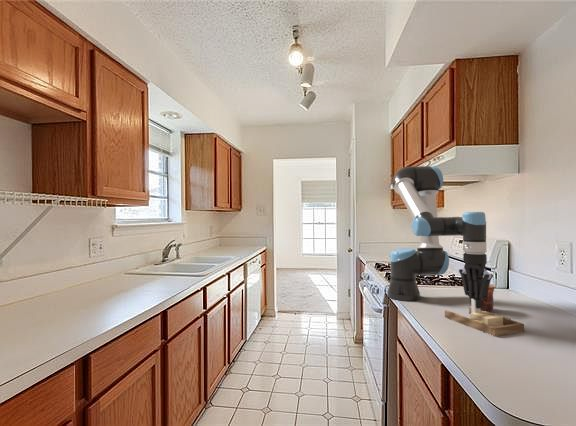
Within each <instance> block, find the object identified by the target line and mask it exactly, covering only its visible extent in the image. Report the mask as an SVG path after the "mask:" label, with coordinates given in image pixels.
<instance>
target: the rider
mask: <svg viewBox="0 0 576 426" xmlns="http://www.w3.org/2000/svg"><path fill="white" fill-rule="evenodd" d="M470 319H473V320H478V321H481V322H484V323H485V324H487V325H490V326H492V327H497V326H504V325H503V317H502V316H501V315H498V314H496V313H493V312H490V311H483V312H475V313H471V314H470Z"/></svg>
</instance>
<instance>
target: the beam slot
mask: <svg viewBox="0 0 576 426" xmlns="http://www.w3.org/2000/svg"><path fill="white" fill-rule="evenodd" d="M480 312H483V311H482V310H480ZM468 314H469V315H471V306H470V307H468ZM502 317H503V326H497V327H492V326H490V325H487V324H485V323H484V322H481V321H478V320H473V319H471V317H470V318H469V317H467V316H464V315H463V314H462V315H461V314H459V313H455V312H452V311H450V310H447V309H446V310H444V318H446V319H449V320H452V321H454V322H456V323H459V324H462V325H464V326H467V327H470V328H472V329H474V330H477V331H480V332H482V331H483V332H482V333H486V334H487V333H488V335H490V334H491V335H490V336H492V335H493V337H498V335H500V336H504V334H505V335H510V333H511V334H517V333H522V332H525V323H523V322H519V321H516V320H514V319H512V318H510V317H507V316H504V315H503V316H502Z"/></svg>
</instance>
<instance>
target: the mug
mask: <svg viewBox="0 0 576 426" xmlns="http://www.w3.org/2000/svg"><path fill="white" fill-rule="evenodd" d="M495 288H496V285H494V284H491V283H490V285H489V290H488V295H487V298H486V299H482V308H480V310H482V311H486V312H492V311H493V310H494V305H495V304H494V292H495Z"/></svg>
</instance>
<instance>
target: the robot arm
mask: <svg viewBox="0 0 576 426" xmlns="http://www.w3.org/2000/svg"><path fill="white" fill-rule="evenodd" d="M391 182H392V184H391V185H392V188H393V190H394V192H395V193H396V194H397V195H399V197H400V198H401V200H402V201H403V202H402V203H403V204H404V205H405V207H406V208H407V211H408V212H409V215H410V216H411V218H412V222H411V229H412V233H413V234H414V235H415V236H416V237H417V236H418V237H419V245H418V246H417V247H416V248H417V249H415V248H413V247H412V248H411V247H410V248H397V249H394V250H392V251H391V252H390V259H389V262H390V263H389V264H390V282H389V285H388V288H387V291H386V294H387V295H386V296H387V297H388V298H389V299H391V300H392V299H393V300H396V301H405V302H407V301H408V302H409V301H418V300H420V299H421V292H420V290H419V287H418V285H417V276H441V275H444V274H445V273H446V272H447V271H448V269H449V267H450V257H449V254H448V252H447V251H445V250H444V247H443V246H442V245H441V244H440V238H439V237H451V236H453V237H455V236H457V237H459V236H460V237H462V247H463V249H462V250H463V252H464V253H463V254H462V256H463V257H462V258H463V259H462V260H463V263H464V265H463V268H462V269H461V268H459V269H458V272H459V275H460V276H461V281H462V285H463V290H464V295H465V296H467V297H468V298H469V306H470V307H471V313H475V312H480V308H482V299H486V298H487V295H488V290H489V285H490V284H491V280H492V279H493V277H494V274H493V273H489V272H488V271H487V269H488V268H487V267H486V265H487V263H488V261H487V260H488V257H487V256H488V255H487V254H486V253H487V220H486V219H487V218H486V213H485V211H484V212H483V211H464V212H463V213H462V216H449V217H448V216H446V217H443V216H440V217H438V207H437V206H438V205H437V195H438V193H440V189H441V188H443V185H444V175H443V173H442V171H441V169H440V168H439V167H437V166H431V165H427V166H424V165H423V166H420V165H419V166H404V167H402V168H400V169H399V170H397V171H396V172H395V174H394V175H393V178H392V181H391ZM416 250H417V251H416Z"/></svg>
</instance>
